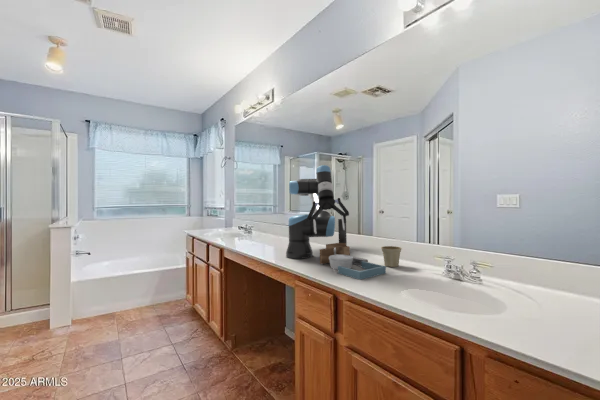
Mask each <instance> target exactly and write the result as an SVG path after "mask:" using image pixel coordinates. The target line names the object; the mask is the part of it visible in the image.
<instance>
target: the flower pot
mask: <svg viewBox="0 0 600 400" xmlns="http://www.w3.org/2000/svg"><path fill="white" fill-rule="evenodd" d="M380 249H381V252H382V254H383V262H384V266H386V267H388V268H389V267H390V268H398V267H399V266H400V265H399V264H400V257H401V256H400V255H401V252H402V250H403V247H401V246H396V245H395V246H393V245H391V246H390V245H387V246H386V245H384V246H381V247H380Z"/></svg>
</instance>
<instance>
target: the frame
mask: <svg viewBox="0 0 600 400" xmlns="http://www.w3.org/2000/svg"><path fill="white" fill-rule="evenodd" d="M386 267H387V266H385V265H382V264H377V263H372V262H369V261H368V262H364V261H362V266H361V269H364V270H356V269H352V268H346V267H342V266H338V270H337V274H341V275H343V276H347V277H349V278H352V279H357V280H363V279H368V278H371V277H372V278H373V277H376V276H379V275H385V274H387V270H386Z"/></svg>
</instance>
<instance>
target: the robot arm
mask: <svg viewBox="0 0 600 400" xmlns="http://www.w3.org/2000/svg"><path fill="white" fill-rule="evenodd" d="M288 182H289V185H288V186H289V187H288V190H289V194H290V195H297V196H304V197H305V196H306V197H307V196H308V198H310V199H311V207H310V208H311V209H310V210H309V213H308V214H307V213H306V214H298V215H293V216H290V217H289V218H288V225H287V226H288V245H287V248H286V252H285V257H286V258H289V259H294V260H295V259H309V258H313V256H314V254H313V253H314V252H313V249H312V248H313V247H312V246H311V245H312V244H311V243H310V238H329V237H333V236H335V231H336V216H334V215H332V214H331V212H329V211H328V210H334V211H336V213H338V214H339V215H340V217H341V219H342V225H343V230H345V226H344V223H346V224H347V217H349V216H350V212H349V211H348V208H346V206H345V205H344V204H343V202H342V201H341V198H340V197H338V198H337V199H335V198H334V197H335V196H334V189H333V188H334V187H333V179H332V171H331V168H330V166H329V165H328V164H327V165H325V164H324V165H323V164H322V165H319V166H317V167H316V178H300V179H295V180H291V181H288ZM336 204H338V206H339V207H340V208H341V209H340V208H339V207H338V206H336Z"/></svg>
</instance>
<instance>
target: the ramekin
mask: <svg viewBox="0 0 600 400" xmlns="http://www.w3.org/2000/svg"><path fill="white" fill-rule="evenodd" d="M352 256H353V255H351V254H350V255H337V254H334V255H331V256H329V260H330V263H329V265H330V268H331V269H333V270H337V271H338V266H342V267H346V268H350V269H352V266H353V264H352V261H353V257H352Z"/></svg>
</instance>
